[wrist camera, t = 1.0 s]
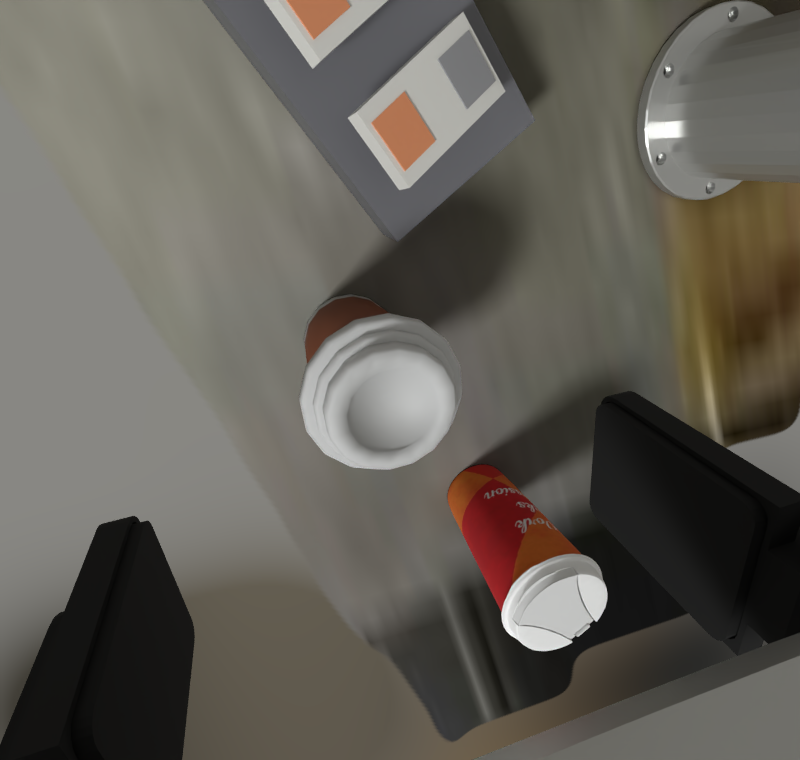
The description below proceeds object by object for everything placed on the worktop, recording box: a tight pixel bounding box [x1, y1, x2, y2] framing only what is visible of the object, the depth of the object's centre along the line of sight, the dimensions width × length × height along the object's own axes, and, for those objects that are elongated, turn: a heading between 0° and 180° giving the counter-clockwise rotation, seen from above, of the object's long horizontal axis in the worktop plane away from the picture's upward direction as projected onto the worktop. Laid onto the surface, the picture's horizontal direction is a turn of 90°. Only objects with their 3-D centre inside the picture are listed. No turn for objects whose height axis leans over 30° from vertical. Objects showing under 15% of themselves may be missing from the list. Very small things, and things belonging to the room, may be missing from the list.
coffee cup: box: [299, 294, 462, 470], centre depth 31 cm, size 9×9×12 cm
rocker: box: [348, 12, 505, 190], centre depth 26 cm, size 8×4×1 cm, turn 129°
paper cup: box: [448, 464, 607, 651], centre depth 39 cm, size 8×8×14 cm
